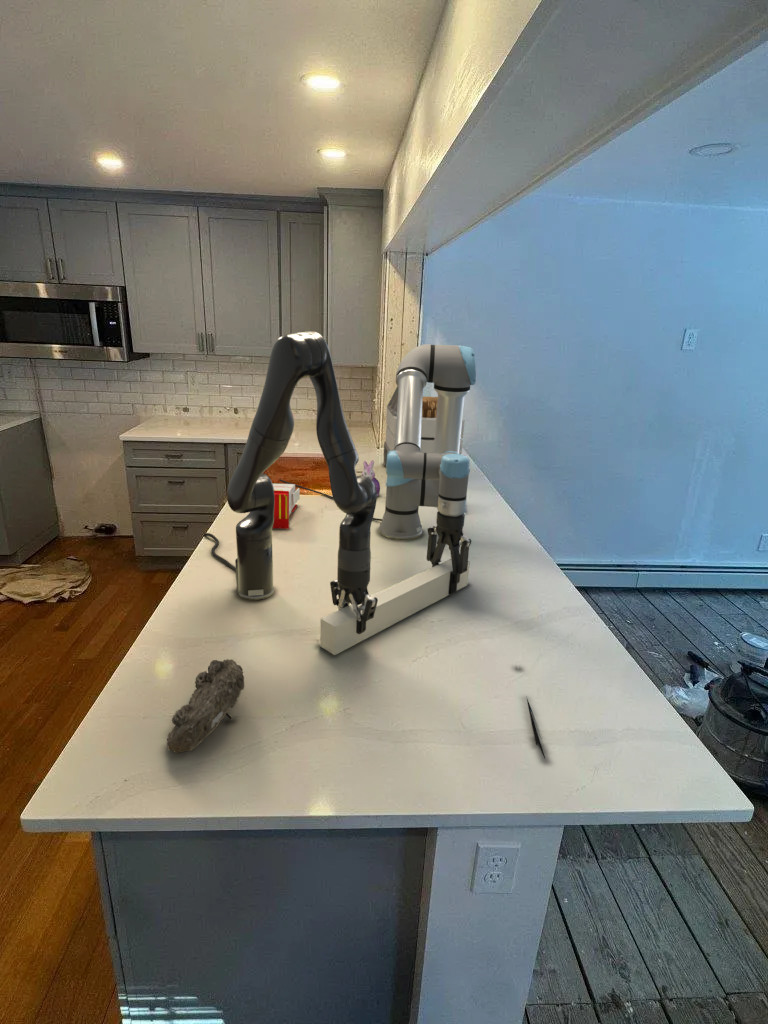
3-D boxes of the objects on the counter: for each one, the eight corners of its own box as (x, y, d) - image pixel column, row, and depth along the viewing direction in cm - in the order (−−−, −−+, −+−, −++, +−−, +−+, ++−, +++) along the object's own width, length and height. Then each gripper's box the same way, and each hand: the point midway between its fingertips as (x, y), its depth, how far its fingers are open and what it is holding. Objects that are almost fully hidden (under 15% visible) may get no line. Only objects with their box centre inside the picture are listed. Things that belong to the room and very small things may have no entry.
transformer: (382, 463, 289) (386, 382, 275) (445, 464, 293) (451, 384, 279) (390, 482, 257) (394, 392, 243) (460, 483, 261) (468, 394, 247)
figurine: (365, 500, 232) (366, 464, 227) (354, 493, 241) (355, 458, 236) (385, 497, 237) (387, 463, 231) (374, 490, 245) (375, 457, 240)
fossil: (192, 660, 117) (244, 628, 112) (224, 691, 120) (276, 661, 115) (142, 746, 98) (202, 712, 93) (182, 779, 101) (242, 748, 96)
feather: (518, 672, 127) (523, 666, 127) (544, 763, 101) (551, 755, 100) (512, 668, 127) (517, 662, 127) (537, 758, 101) (544, 751, 100)
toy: (301, 479, 224) (291, 492, 194) (301, 512, 226) (291, 530, 197) (270, 478, 223) (256, 491, 194) (271, 511, 226) (256, 529, 197)
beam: (453, 579, 168) (456, 556, 165) (467, 585, 165) (470, 561, 162) (320, 646, 132) (320, 618, 129) (334, 655, 129) (335, 626, 126)
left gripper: (320, 557, 131) (320, 621, 137) (364, 578, 122) (362, 646, 128) (344, 549, 136) (343, 611, 142) (388, 568, 127) (385, 634, 133)
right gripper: (416, 506, 156) (411, 582, 164) (470, 524, 144) (462, 605, 152) (433, 500, 161) (427, 574, 169) (487, 517, 150) (478, 596, 158)
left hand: (352, 627), depth 135 cm, fingers closed on beam, 5 cm apart
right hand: (444, 588), depth 161 cm, fingers closed on beam, 5 cm apart
